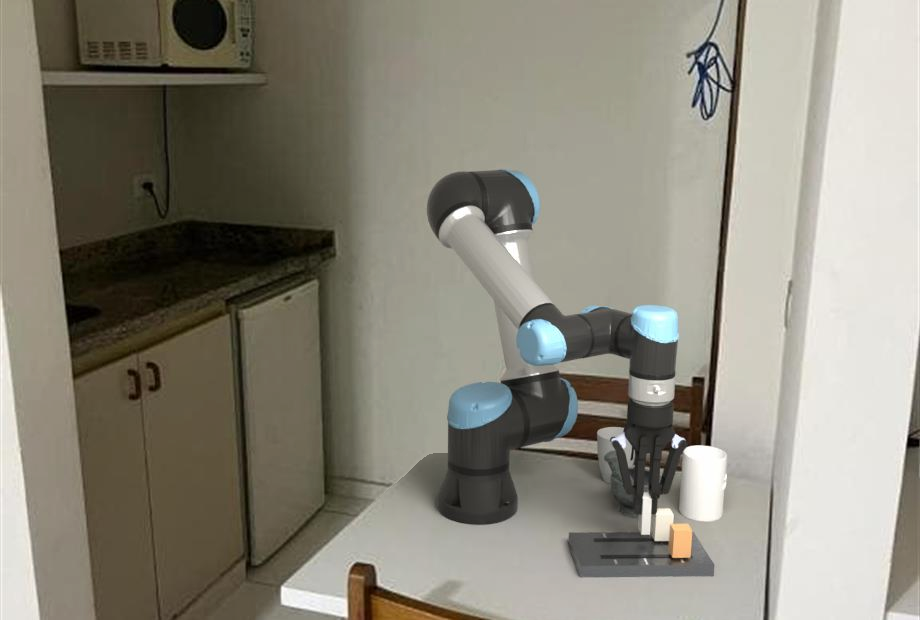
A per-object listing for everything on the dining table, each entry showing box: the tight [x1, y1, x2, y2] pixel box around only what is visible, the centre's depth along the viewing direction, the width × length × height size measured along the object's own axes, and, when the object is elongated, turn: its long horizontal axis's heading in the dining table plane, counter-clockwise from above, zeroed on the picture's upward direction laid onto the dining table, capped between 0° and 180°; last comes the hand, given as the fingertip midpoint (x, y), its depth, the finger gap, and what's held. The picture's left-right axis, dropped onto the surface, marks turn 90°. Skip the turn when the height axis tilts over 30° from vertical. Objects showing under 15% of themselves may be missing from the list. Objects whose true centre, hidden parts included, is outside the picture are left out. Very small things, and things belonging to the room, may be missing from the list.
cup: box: [596, 426, 635, 485], centre depth 188 cm, size 8×8×10 cm
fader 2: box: [668, 523, 693, 558], centre depth 152 cm, size 3×3×5 cm
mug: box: [678, 444, 728, 523], centre depth 175 cm, size 8×12×12 cm
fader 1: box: [650, 507, 675, 541], centre depth 158 cm, size 3×3×5 cm
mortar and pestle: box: [604, 450, 662, 519], centre depth 173 cm, size 11×9×12 cm
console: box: [568, 531, 715, 578], centre depth 156 cm, size 22×12×2 cm, turn 92°
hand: (643, 530), depth 158 cm, fingers closed
